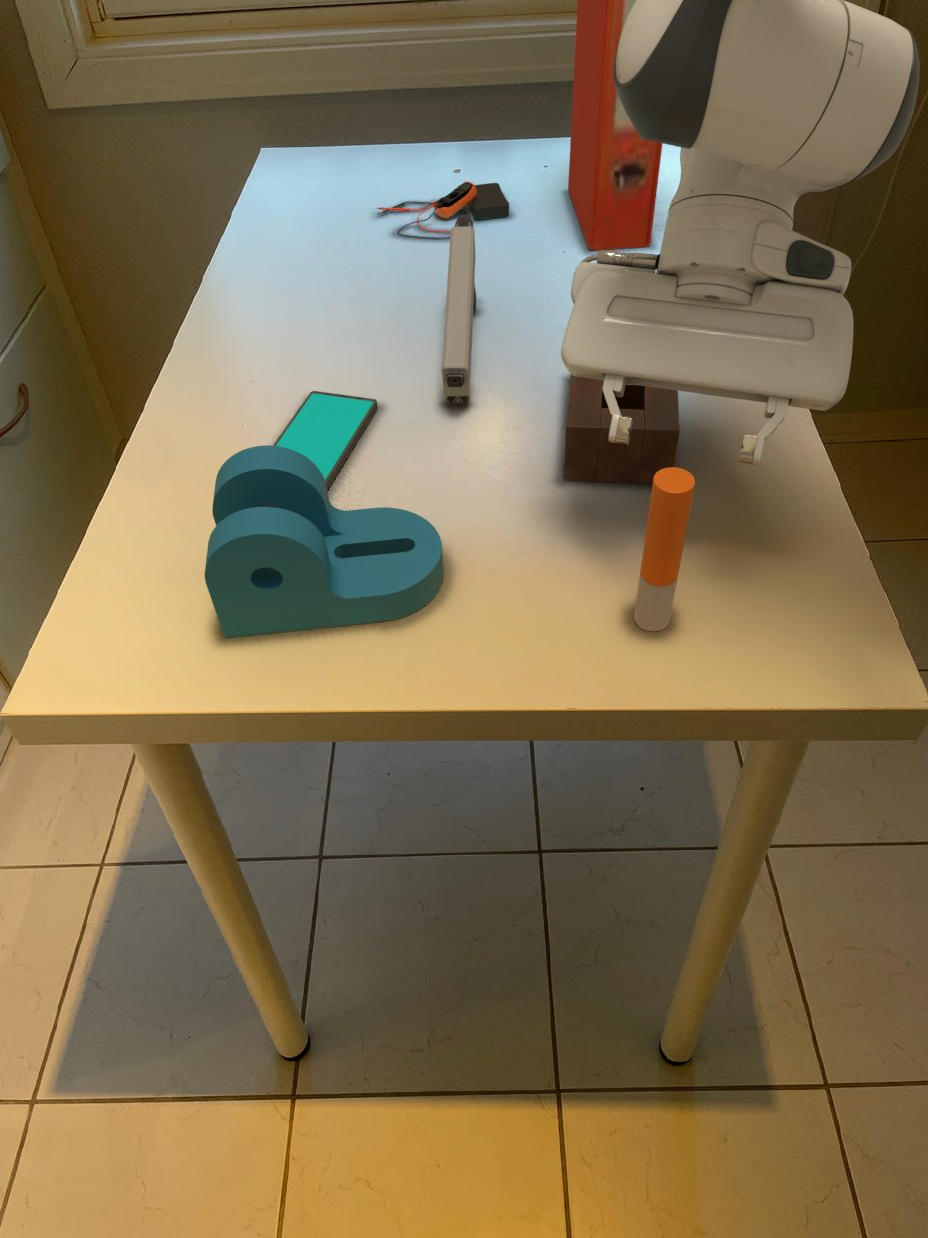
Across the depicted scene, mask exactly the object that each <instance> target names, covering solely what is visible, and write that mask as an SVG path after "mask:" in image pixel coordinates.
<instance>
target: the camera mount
mask: <svg viewBox="0 0 928 1238" xmlns="http://www.w3.org/2000/svg"><path fill="white" fill-rule="evenodd" d="M212 517H213V520H214V521H213V522H214V524H215V527H214V528H213V530H212V531H211V533H210V535H209V538H208V543H207V551H206V558H205V568H204V581H205V585H206V588H207V591H208V593H209V596H210V599H211V603H212V605H213V608H214V611H215V613H216V618H217V619H218V620H217V621H218V622H219V625H220V628H221V631H222V633H223V637H224V639H229V638H230V639H231V638H240V637H250V636H258V635H259V636H260V635H268V634H269V635H270V634H276V633H277V634H278V633H286V632H287V633H288V632H297V631H306V630H316V629H324V628H325V629H326V628H334V627H343V626H353V625H363V624H372V623H381V622H382V623H383V622H390V621H395V620H398V619H401V618H404V617H408V616H410V615H412V614H414V613H416V612H418V611H419V610H421V609H422V608H424V607H425V606H427V605H428V604H429V603H430V602H431V601H432V600H433V599H434V598H435V596H436V595H437V594H438V593H439V591H440V589H441V587H442V584H443V581H444V577H445V569H444V568H445V567H444V555H443V554H444V553H443V544H442V543H443V542H442V538H441V536H440V533H439V532H438V530H437V528H436V527H435V526H434V525H433V524H432V523H431V522H430V521H429V520H427V519H426V518H424V517H423V516H421V515H419V514H417V513H415V512H413V511H409V510H407V509H401V508H396V507H385V506H384V507H383V506H381V507H369V508H359V509H358V508H357V509H349V510H343V509H339V508H337V507H335V506H334V505H333V504H332V503H331V502H330V499H329V493H328V490H327V488H326V483H325V479H324V477H323V475H322V473H321V471H320V470H319V468H318V467H317V466H316V465H315V464H314V463H313V462H312V461H311V460H310V459H308V458H307V457H305V456H304V455H302V454H300V453H298V452H296V451H294V450H291V449H288V448H284V447H279V446H273V445H266V444H265V445H255V446H251V447H247V448H245V449H242V450H239V451H237V452H236V453H234V454H232V455H230V456H229V457H228V458H227V459H226V461H224V463H222V464H221V467H220V468H219V470H218V471H217V474H216V477H215V484H214V491H213V500H212Z"/></svg>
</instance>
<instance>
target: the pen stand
mask: <svg viewBox="0 0 928 1238" xmlns="http://www.w3.org/2000/svg"><path fill="white" fill-rule="evenodd" d="M603 384H604V380H597V379H590V378H583V377H576V376H573V375H572V374H571V373H570V378H569V387H568V399H567V400H568V401H567V409H566V410H567V411H566V422H565V436H564V437H565V439H564V459H563V475H562V476H563V477H562V478H563V479H562V480H563V481H578V482H579V481H580V482H601V483H602V482H603V483H619V484H620V483H621V484H641V485H653V478H654V475H655V474H656V473H657V472H658V471H659V470H661V469H664V468H669V467H675V465H676V457H677V451H678V447H679V446H678V445H679V439H680V433H681V427H680V406H679V391H677V390H669V389H662V388H655V387H648V386H640V385H633V384H626V385H625V390H624V395H623V397H617V396H615V398H616V401H617V404H618V407H619V410H620V413H621V416H622V417H627V418H632V419H633V422H634V423H633V428H632V432H631V433H630V437H631V438H630V443H629V445H625V444H618V443H611V442H609V431H610V426H611V421H612V416H611V413H610V410H609V407H608V404H607V402H606V399H605V396H604V393H603V390H602V389H603Z"/></svg>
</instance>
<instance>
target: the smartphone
mask: <svg viewBox="0 0 928 1238" xmlns="http://www.w3.org/2000/svg"><path fill="white" fill-rule="evenodd" d="M377 410H378V400H377V399H376V398H370V397H369V398H368V397H363V396H362V397H361V396H356V395H355V396H354V395H347V394H341V393H333V392H326V391H319V390H312V391H310V392H309V394H307V397H306V398H305V399H304V401H303V403H302V404H301V405H300V406H299V408H298V409H297V411H296V412H295V414H293V416H292V418H291V419H290V421H289V422H288V423H287V425H286V426H285V428H284V429H283V431H282V432H281V434H279V436H278V438H277V439H276V440H275V442H274V443H273V445H272V446H279V447H284V448H288V449H291V450H294V451H296V452H298V453H300V454H302V455H304V456H305V457H307V458H308V459H310V460H311V461H312V462H313V463H314V464H315V465H316V466H317V467H318V468H319V470H320V471H321V473H322V475H323V477H324V479H325V483H326V488H327V491H328V490H329V488H330V486H331V485H332V483H333V482H334V480H335V479H336V477H337V475H338V474H339V472H340V470H341V469H342V467H343V465H344V464H345V462H346V460H347V459H348V457H349V456H350V454H351V452H352V451H353V449H354V447H355V446H356V444H357V442H358V441H359V439H360V438H361V436H362V435H363V433H364V431H365V429H366V427H367V426H368V425H369V423H370V422H371V419H372V418H373V417H374V415H375V413H376V411H377Z"/></svg>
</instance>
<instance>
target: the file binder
mask: <svg viewBox="0 0 928 1238" xmlns="http://www.w3.org/2000/svg"><path fill="white" fill-rule="evenodd" d="M635 1H636V0H577V9H576V24H575V26H576V27H575V46H574V47H575V48H574V67H573V85H572V103H571V104H572V105H571V106H572V107H571V122H570V123H571V126H570V143H569V144H570V145H569V162H568V163H569V165H568V166H569V167H568V168H569V169H568V181H567V182H568V183H567V192H568V195H569V198H570V199H571V203H572V206H573V210H574V212H575V215H576V217H577V221H578V223H579V226H580V229H581V233H582V234H583V235H582V236H583V238H584V240H585V243H586V246H587V249H588V250H591V251H599V250H620V249H634V248H649V247H650V245H651V242H652V236H653V235H652V234H653V227H654V217H655V209H656V200H657V193H658V183H659V177H660V168H661V160H662V159H661V158H662V152H663V145H664V144H663V143H659V142H654V141H649V140H644V139H642V138H641V136H640V135H639V133H638V132H637V131H636V129H635V127H634V126H633V124H632V122H631V121H630V119H629V117H628V115H627V113H626V112H625V109H624V107H623V105H622V103H621V100H620V98H619V95H618V92H617V90H616V86H615V83H614V79H613V66H614V59H615V54H616V50H617V46H618V43H619V39H620V36H621V33H622V30H623V27H624V25H625V22H626V20H627V17H628V15H629V13H630V11H631V9H632V7H633V5H634V3H635Z"/></svg>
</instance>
